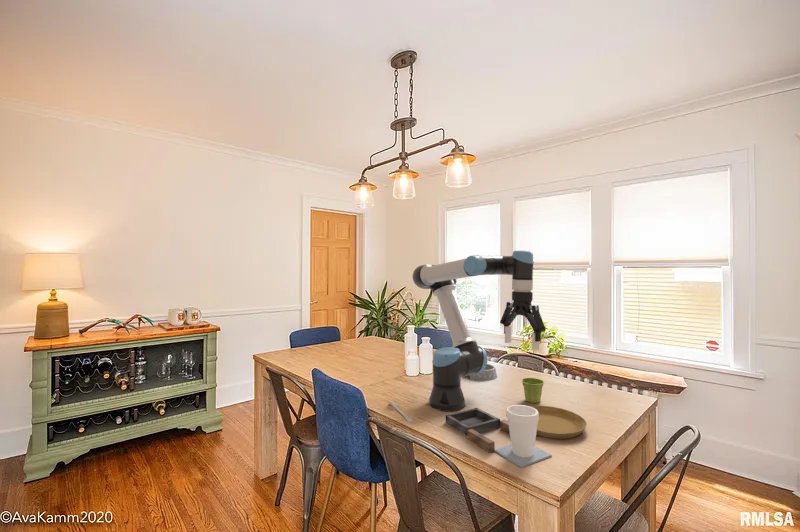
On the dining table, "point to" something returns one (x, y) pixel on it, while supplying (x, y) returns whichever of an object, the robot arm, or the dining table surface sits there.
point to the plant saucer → (558, 423)
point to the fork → (402, 412)
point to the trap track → (477, 426)
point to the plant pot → (532, 389)
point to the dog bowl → (485, 374)
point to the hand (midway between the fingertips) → (521, 346)
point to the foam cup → (522, 429)
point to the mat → (522, 461)
